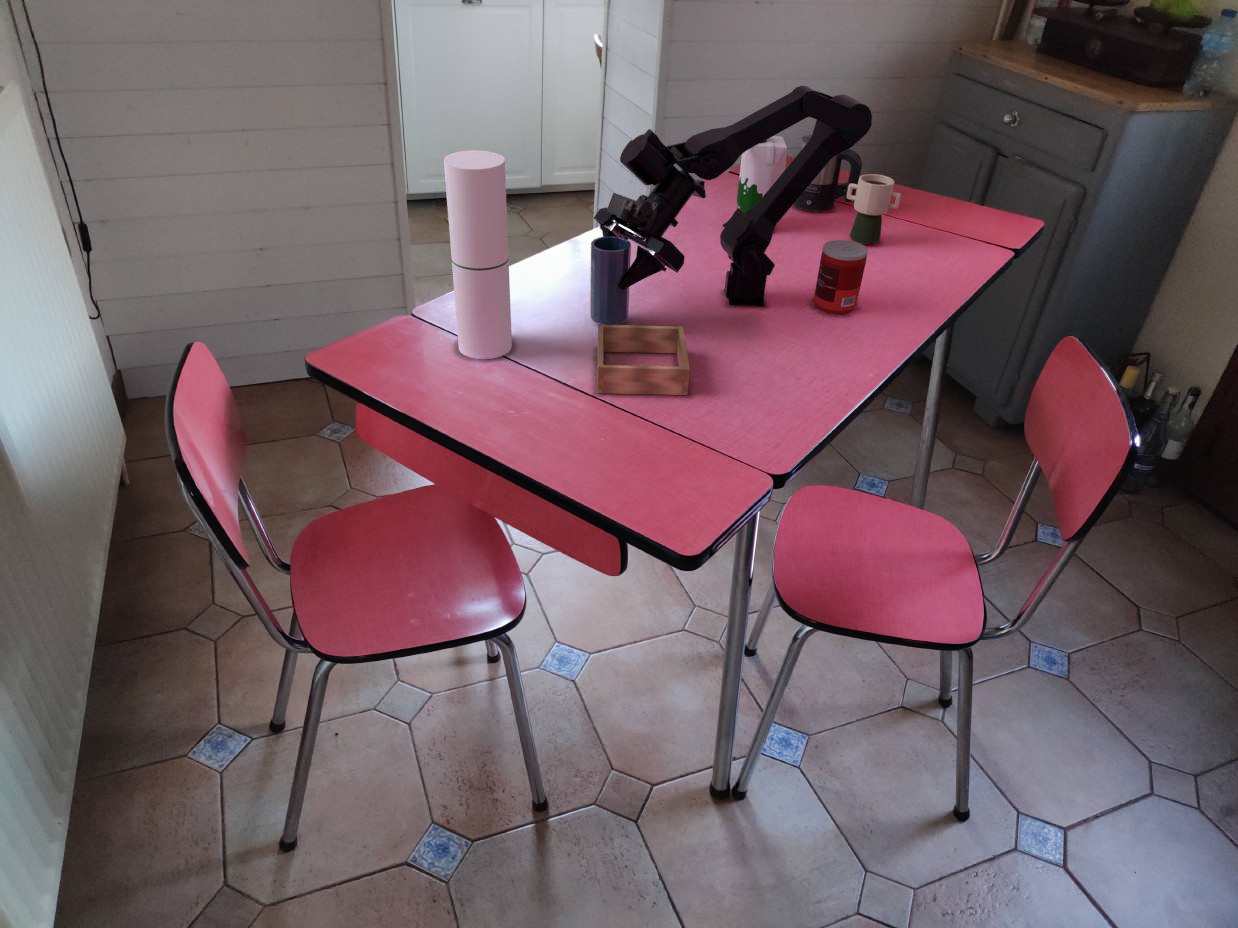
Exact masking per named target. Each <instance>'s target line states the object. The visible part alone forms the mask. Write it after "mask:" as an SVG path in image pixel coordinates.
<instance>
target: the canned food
mask: <svg viewBox="0 0 1238 928" xmlns="http://www.w3.org/2000/svg"><path fill="white" fill-rule="evenodd" d="M868 253H869V250H868V248H867V246H865V244H862V243H858V242H856V241H854V240H848V239H834V240H829V241H826V242H825V243H824V244H823V246H822V250H821V255H820V260H819V267H818V272H817V278H816V284H815V290H814V296H813V304H814V307H815V309H817V310H819V311H821V312H823V313H826V314H829V315H838V316H839V315H840V316H841V315H847V314H850V313H852V312H854V311H855V308H856V307H857V305H858V300H859V296H860V292H861V291H860V290H861V286H862V282H863V277H864V272H865V268H866V263H867V259H868Z"/></svg>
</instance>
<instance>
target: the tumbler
mask: <svg viewBox="0 0 1238 928" xmlns="http://www.w3.org/2000/svg"><path fill="white" fill-rule="evenodd" d="M631 253H632V244H631V241H629V239H628V240H626V239H624V238H621V237H615V236H605V237H603V236H600V237H597V238H594V239H593V240H592V241H591V242H590V287H589V288H590V294H589V296H590V300H589V301H590V303H589V304H590V307H589V313H590V315H589V317H590V319H591V321H593V322H595V323H597V324H598V325H622V324H624V323H625V322H626V321H627V320H628V318H629V308H630V307H629V306H630V305H629V304H630V287H628V288H626V289H624V290H621V289H620V288H619V284H620V282H621V280H622V278H623V277H624V275H625V274H626V272H627V271H628V269H629V268H630V266H631V256H632V254H631Z"/></svg>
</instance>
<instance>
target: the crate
mask: <svg viewBox="0 0 1238 928" xmlns="http://www.w3.org/2000/svg"><path fill="white" fill-rule="evenodd" d="M604 353H644V354H645V353H646V354H676V361H677V366H676V365H675V366H674V365H673V366H671V365H669V366H668V365H631V364H630V365H629V364H628V365H626V364H625V365H624V364H620V365H619V364H604ZM690 367H691V366H690V362H689V356H688V350H687V343H686V337H685V331H684V326H671V325H669V326H667V325H631V324H630V325H629V324H627V325H625V324H623V325H622V324H617V325H603V324H598V325H597V368H596V369H597V371H596V373H597V375H596V377H597V379H596V380H597V383H596V384H597V385H596V386H597V388H596V389H597V391H596V393H597V394H615V395H618V394H619V395H620V394H623V395H664V396H665V395H667V396H671V395H672V396H688V395H689V394H688V393H689V383H690V372H691V368H690Z"/></svg>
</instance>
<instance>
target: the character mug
mask: <svg viewBox="0 0 1238 928" xmlns="http://www.w3.org/2000/svg"><path fill="white" fill-rule="evenodd" d="M894 186H895V180H894V179H893V178H891V177H889V176H886V175H884V174H877V173H875V174H874V173H868V174H867V173H866V174H862V175H860V177H859V181H858V185H857V184H849V186H848V191H847V199H849V200H852V201H854V202H853V209H854V210H855V211H856V212H857V214H856V215H855V218H854V221H853V224H852V226H851V230H850V234H849V237H850V239H851V241H854V242H857V243H860V244H862V245H871V244H875V243H878V242H880V241H881V234H882V224H883V223H882V222H883V216H882V215H885V214H886V213H888V211H889V210H890V209H892V210H893V209H894V210H898V209H899V207H900V203H901V199H902V193H900V192H897V191H894ZM853 189H856V192H855V196H853V195H852V190H853ZM892 197H893V198H895V200H894V203H891V201H892Z"/></svg>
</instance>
